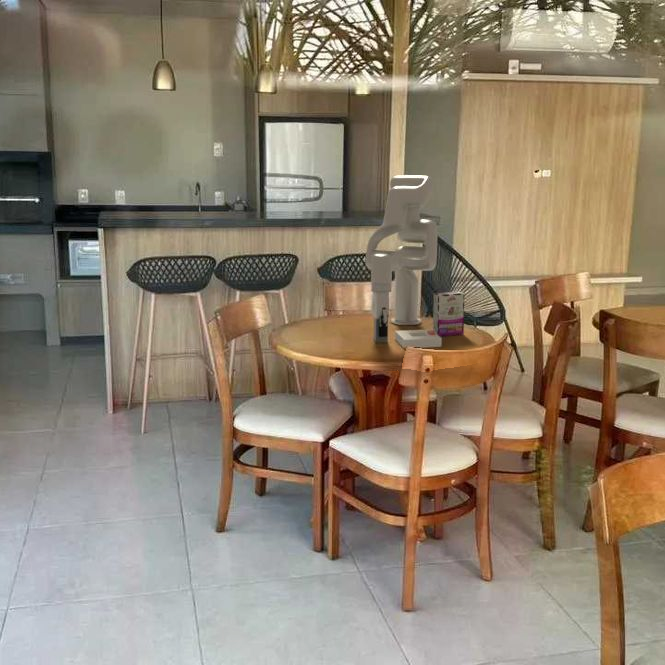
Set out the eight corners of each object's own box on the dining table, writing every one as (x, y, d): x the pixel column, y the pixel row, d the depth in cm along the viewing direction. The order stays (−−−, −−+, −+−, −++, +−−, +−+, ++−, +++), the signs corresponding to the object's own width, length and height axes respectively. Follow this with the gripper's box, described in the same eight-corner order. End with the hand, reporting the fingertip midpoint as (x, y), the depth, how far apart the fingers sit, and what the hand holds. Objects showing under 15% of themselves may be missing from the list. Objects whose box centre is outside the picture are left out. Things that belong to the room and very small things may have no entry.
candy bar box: (458, 332, 301) (459, 290, 297) (463, 334, 297) (465, 293, 293) (432, 333, 298) (433, 292, 294) (437, 336, 294) (438, 294, 290)
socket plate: (395, 339, 290) (395, 328, 289) (430, 337, 292) (431, 327, 291) (403, 348, 277) (404, 337, 276) (441, 346, 279) (441, 336, 278)
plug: (373, 339, 289) (374, 311, 287) (385, 339, 290) (385, 311, 287) (375, 342, 285) (376, 313, 283) (387, 342, 286) (388, 313, 283)
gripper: (366, 283, 290) (366, 329, 295) (376, 291, 274) (375, 340, 278) (386, 283, 292) (385, 328, 296) (396, 291, 275) (395, 339, 279)
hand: (380, 333), depth 287 cm, fingers open, 6 cm apart
